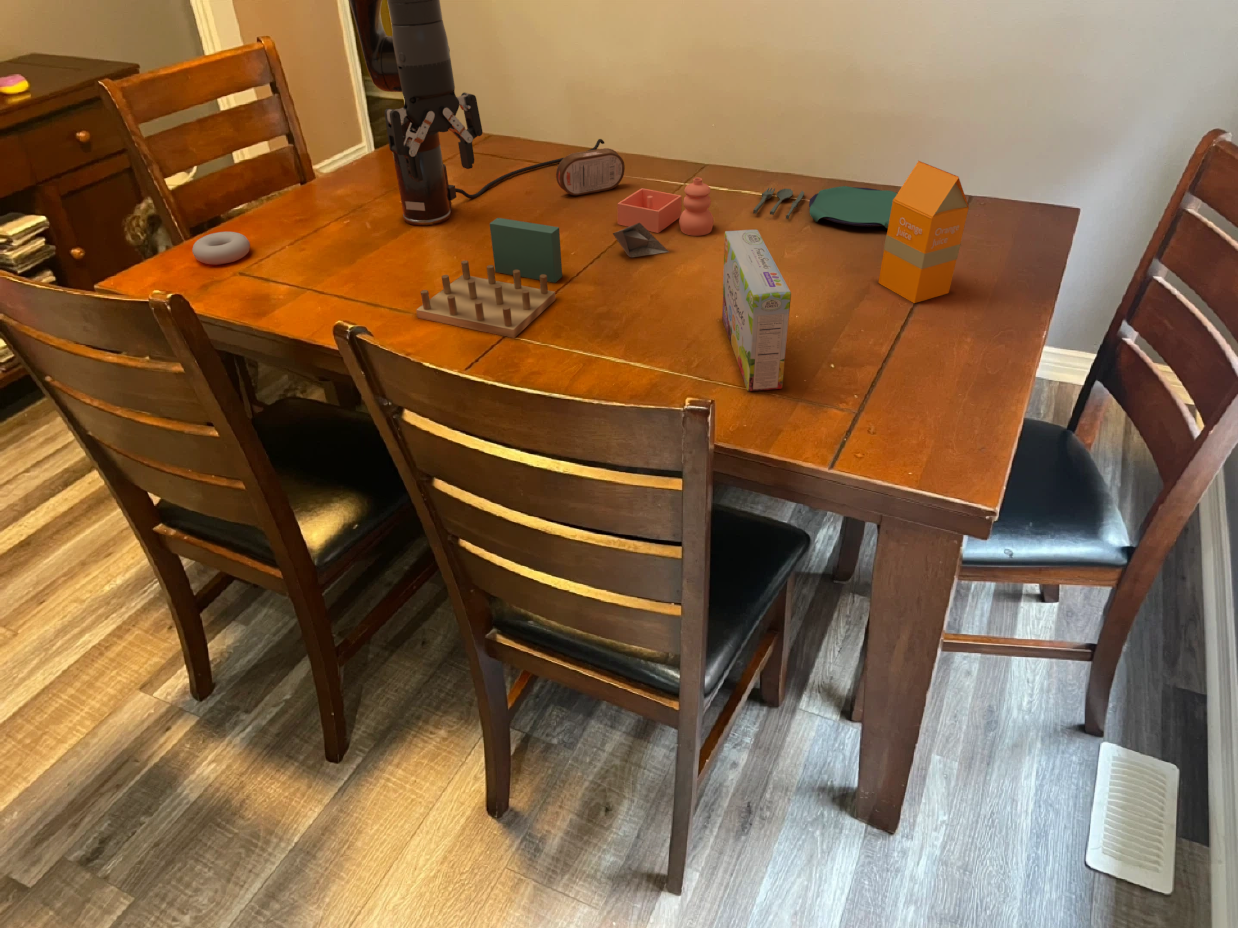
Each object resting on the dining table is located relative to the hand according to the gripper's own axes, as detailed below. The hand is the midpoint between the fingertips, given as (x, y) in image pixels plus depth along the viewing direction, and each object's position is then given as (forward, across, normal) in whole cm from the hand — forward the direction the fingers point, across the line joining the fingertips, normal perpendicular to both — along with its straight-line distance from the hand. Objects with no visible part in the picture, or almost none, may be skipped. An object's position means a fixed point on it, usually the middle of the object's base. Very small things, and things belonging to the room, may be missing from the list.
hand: (442, 174), depth 129 cm
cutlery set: (+22, -77, +13) cm, 81 cm away
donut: (+19, +24, -47) cm, 56 cm away
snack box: (+24, -24, +42) cm, 54 cm away
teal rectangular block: (+21, -15, -3) cm, 26 cm away
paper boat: (+22, -34, +4) cm, 40 cm away
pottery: (+21, -48, -4) cm, 53 cm away
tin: (+20, -48, -28) cm, 59 cm away
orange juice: (+24, -61, +44) cm, 79 cm away
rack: (+22, -2, +4) cm, 22 cm away
